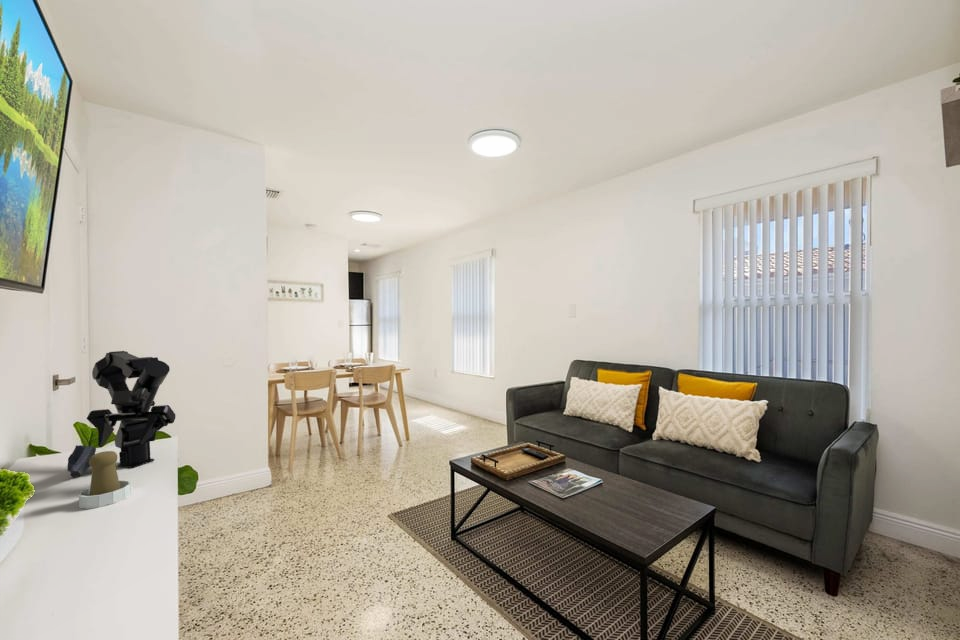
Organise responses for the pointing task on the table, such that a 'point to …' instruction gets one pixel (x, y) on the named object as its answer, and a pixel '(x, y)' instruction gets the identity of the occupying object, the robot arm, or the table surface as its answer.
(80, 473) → the stone
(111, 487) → the cork
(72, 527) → the table surface
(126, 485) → the bowl
